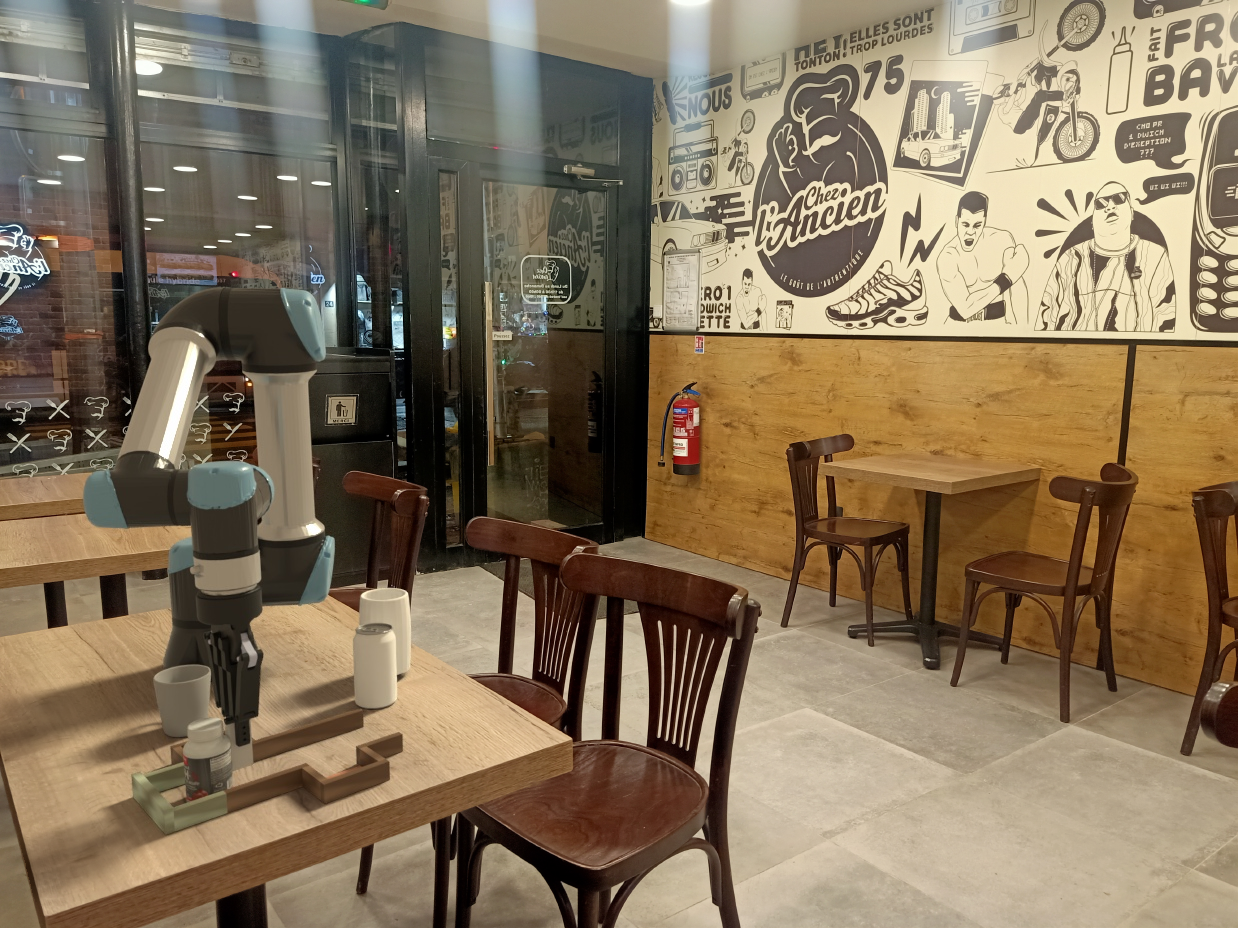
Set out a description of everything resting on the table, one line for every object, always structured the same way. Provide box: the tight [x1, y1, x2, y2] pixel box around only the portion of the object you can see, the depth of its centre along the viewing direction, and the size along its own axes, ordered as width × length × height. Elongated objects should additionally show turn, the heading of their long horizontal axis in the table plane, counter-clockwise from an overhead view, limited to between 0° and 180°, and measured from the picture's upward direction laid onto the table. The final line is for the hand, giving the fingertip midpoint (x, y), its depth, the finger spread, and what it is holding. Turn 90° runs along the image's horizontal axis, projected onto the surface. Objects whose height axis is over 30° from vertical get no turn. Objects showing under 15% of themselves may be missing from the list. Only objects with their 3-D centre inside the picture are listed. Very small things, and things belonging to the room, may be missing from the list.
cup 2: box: [358, 587, 412, 676], centre depth 153 cm, size 8×8×14 cm
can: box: [352, 623, 398, 710], centre depth 142 cm, size 6×6×12 cm
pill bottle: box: [183, 717, 234, 803], centre depth 112 cm, size 5×5×10 cm
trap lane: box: [130, 708, 404, 835], centre depth 119 cm, size 24×31×3 cm
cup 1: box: [152, 665, 212, 738], centre depth 133 cm, size 8×10×8 cm
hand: (240, 765), depth 116 cm, fingers closed
